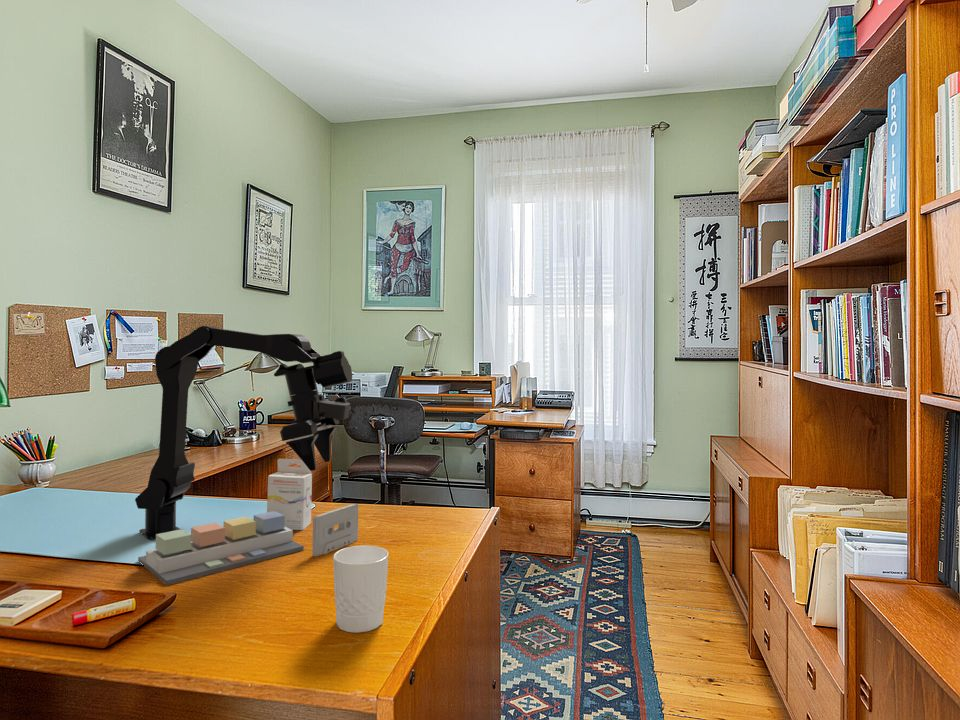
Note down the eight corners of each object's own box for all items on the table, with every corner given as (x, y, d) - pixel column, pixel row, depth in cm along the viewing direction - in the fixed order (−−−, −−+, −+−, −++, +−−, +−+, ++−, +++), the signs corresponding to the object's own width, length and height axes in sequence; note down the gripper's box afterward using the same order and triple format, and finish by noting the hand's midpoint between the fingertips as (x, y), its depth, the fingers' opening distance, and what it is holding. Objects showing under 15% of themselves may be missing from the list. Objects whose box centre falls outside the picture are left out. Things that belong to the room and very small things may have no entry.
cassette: (317, 557, 110) (317, 517, 110) (310, 555, 111) (310, 516, 111) (359, 540, 121) (360, 504, 121) (353, 539, 122) (353, 502, 122)
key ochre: (223, 534, 112) (223, 520, 112) (245, 529, 115) (245, 516, 115) (233, 539, 109) (233, 526, 109) (255, 534, 112) (255, 521, 112)
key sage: (155, 548, 104) (155, 534, 104) (181, 543, 107) (181, 529, 107) (164, 555, 101) (164, 540, 100) (190, 549, 104) (191, 534, 104)
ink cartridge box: (265, 528, 127) (266, 462, 127) (275, 522, 132) (276, 458, 132) (303, 530, 126) (304, 463, 126) (311, 524, 131) (313, 459, 131)
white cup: (337, 610, 88) (338, 545, 88) (389, 609, 89) (390, 545, 89) (327, 636, 80) (329, 564, 80) (385, 634, 81) (386, 563, 81)
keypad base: (138, 561, 106) (138, 545, 106) (267, 532, 124) (267, 518, 124) (166, 585, 96) (166, 567, 96) (303, 550, 114) (303, 534, 114)
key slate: (253, 527, 117) (253, 515, 117) (274, 523, 120) (274, 510, 120) (263, 532, 114) (263, 519, 114) (284, 528, 117) (284, 515, 117)
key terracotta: (190, 541, 108) (191, 527, 108) (215, 536, 111) (215, 522, 111) (200, 547, 105) (200, 532, 105) (224, 541, 108) (224, 527, 108)
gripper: (326, 387, 111) (345, 466, 111) (353, 382, 129) (368, 450, 129) (271, 399, 111) (289, 478, 111) (305, 393, 130) (321, 460, 130)
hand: (320, 465), depth 120 cm, fingers open, 9 cm apart
